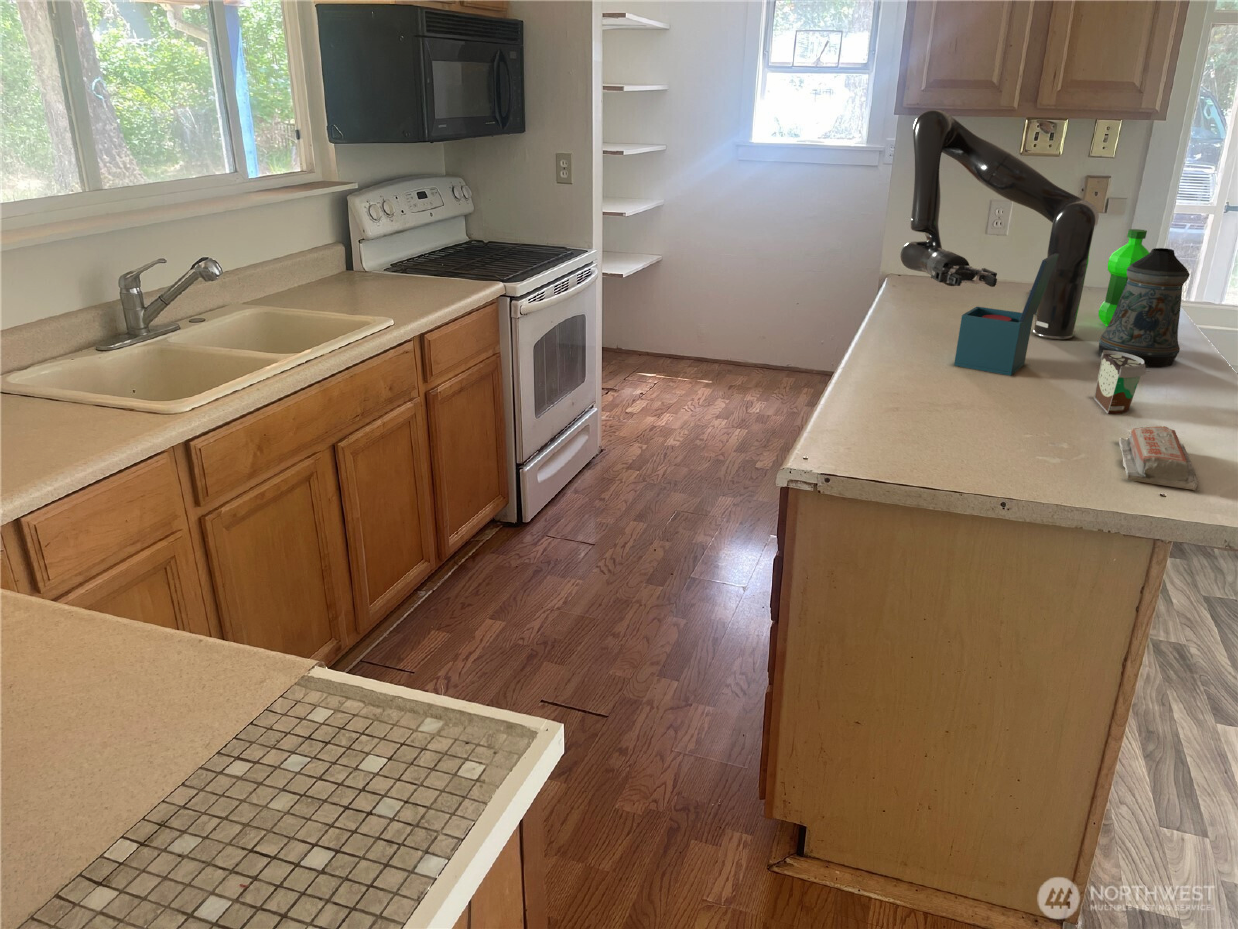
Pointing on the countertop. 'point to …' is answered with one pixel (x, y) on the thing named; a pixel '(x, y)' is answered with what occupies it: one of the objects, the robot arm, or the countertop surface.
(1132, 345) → the beer stein
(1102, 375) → the food container
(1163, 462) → the packaged product
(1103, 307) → the plastic bottle
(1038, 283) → the cool box lid
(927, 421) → the countertop surface
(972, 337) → the cool box
